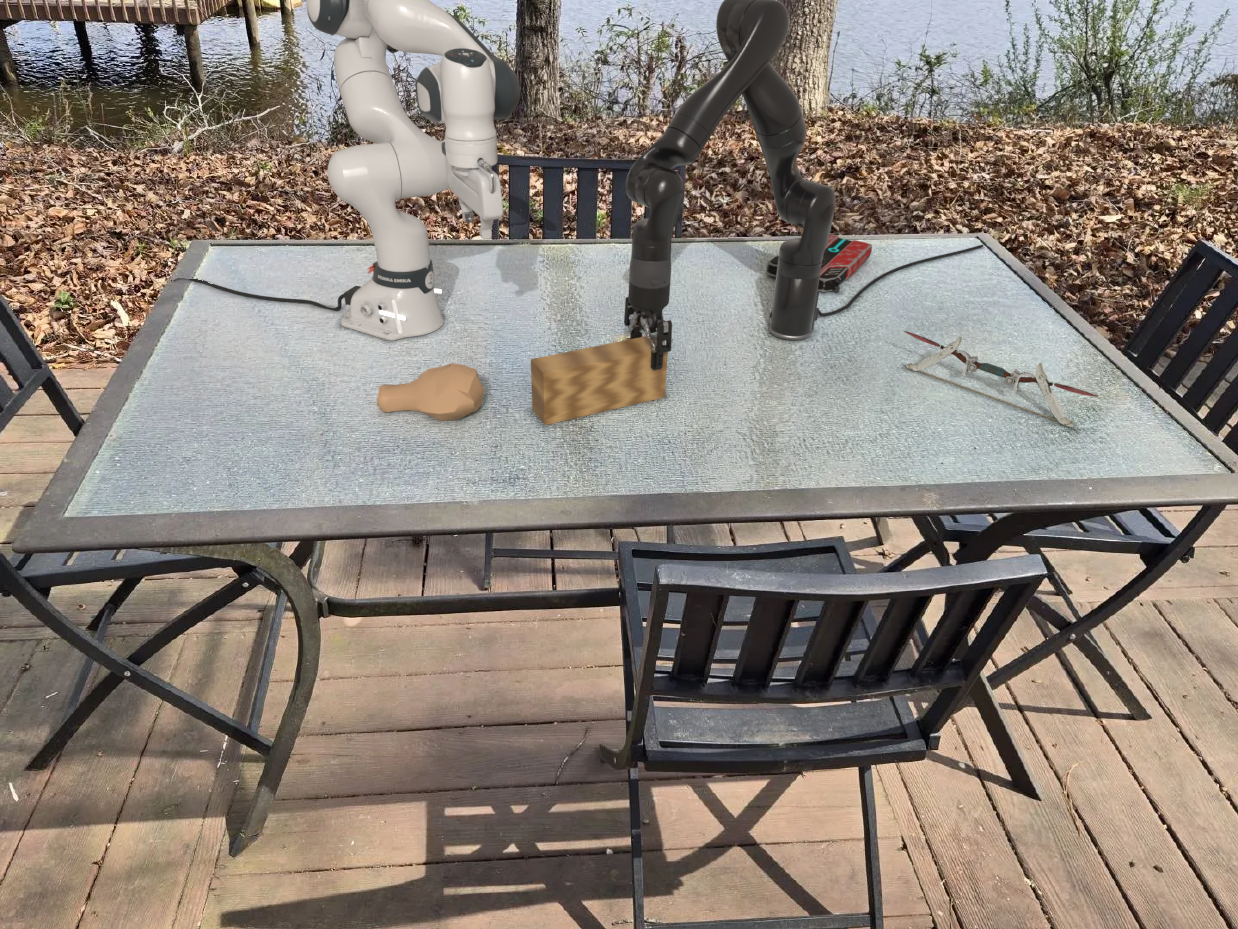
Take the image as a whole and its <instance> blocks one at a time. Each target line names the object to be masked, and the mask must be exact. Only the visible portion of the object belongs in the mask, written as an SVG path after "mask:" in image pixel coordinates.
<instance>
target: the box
mask: <svg viewBox="0 0 1238 929" xmlns="http://www.w3.org/2000/svg"><path fill="white" fill-rule="evenodd" d="M655 344H656V346H657V340H655ZM651 351H652V349H651V345H650V342H649V341H647V339H646V335H645V336H642V337H640V338H635V339H630V338H629V339H625V340H620V341H615V342H610V343H606V344H605V343H604V344H600V345H595V346H590V347H585V348H580V349H575V350H571V351H565V352H560V353H555V354H549V355H545V356H539V357H535V358H530V378H531V379H530V380H531V408H532V409H531V410H532V411H533V413H534V414H535V415H536V416H537V418H538V419H539V420H540V421H541V423H542V424H543V425H544V426H548V425H552V424H556V423H560V422H565V421H569V420H574V419H578V418H582V417H587V416H590V415H594V414H599V413H603V412H608V411H613V410H616V409H617V410H618V409H621V408H624V407H625V408H626V407H630V406H635V405H637V404H642V403H648V402H650V401H655V400H656V401H657V400H660V399H663V398H666V390H667V389H666V388H667V374H668V372H667V370H668V356H669V352H664V354H663V367H662V368H661V369H658V370H653V369H652V368H651Z"/></svg>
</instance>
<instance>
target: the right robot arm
mask: <svg viewBox="0 0 1238 929" xmlns="http://www.w3.org/2000/svg"><path fill="white" fill-rule="evenodd" d="M789 26H790V16H789V12H788V9H787V7H786V6H785V4H784V3H783V2H781V1H779V0H723V1H722V2H721V3H720V6H719V8H718V10H717V14H716V22H715V29H716V35H717V40H718V43H719V46H720V48H721V50H722V53H723V55H724V56H725V58H726V60H727V64H726V66H725V67H724V68H722V69H721V70H720V71H719V72H718V73H717V74H716V75H715V76H713V77H711V79H709V80H708V81H707V82H705V83H704V84H702V85H701V86H700V87H699V88H697V89H696V90H695V91H694V92H692V93H691V94H690V95H689V96H688V97H687V98H686V100H684V102H683V103H681V105H680V106H679V108H678V109H677V110H676V112H675V114H674V116H673V117H672V119H671V120H670V122H669V124H668V125H667V127H666V128H665V130H664V132H663V134H662V135H661V136H660V137H659V138H658V139H657V140H656V141H654V142H653V143H652V144H651V146H650V147H648V149H646V150H645V151H644V152H643V153H642V155H640V156H639V157H638V158H637V160H636V161H634V162H633V164H632V166H631V167H630V169H629V170H628V173H627V175H626V178H625V184H624V186H625V193H626V196H627V197H628V198H629V200H631V201H632V202H633V203H636V204H638V205H640V206H643V207H646V208H648V209H649V217H647V218H642V219H639V220H637V221H636V222H635V223H634V224H633V226H632V231H631V232H632V234H631V253H630V254H631V257H630V261H629V269H628V271H629V273H628V294H627V295H628V296H627V297H625V299H624V300H625V301H624V314H623V315H624V317H623V324H624V326H625V327H628V328H627V330H628V333H629V340H630V339H635V338H640V337H643V333H644V335H645V336H646V339H647V341H649V342H650V345H651V349H652V351H651V368H652V369H653V370H658V369H661V368H662V367H663V354H664V352H668V353H670V352H671V351H672V341H673V340H672V339H673V336H672V335H673V334H672V333H673V322H672V319H669V320H665V319H664V315H663V311H664V309H665V308H666V307H668V305H669V304H670V296H671V295H670V294H671V281H672V280H671V279H672V244H673V243H672V241H673V232H674V229H675V227H676V224H677V222H678V221H677V220H678V218H679V214H680V212H681V209H682V206H683V203H684V198H685V186H684V181H683V179H682V177H681V176H680V174H679V173H678V172H676V171H675V170H673V169H675V168H676V167H678V166H689V165H692V164H693V163H694V162H695V161H696V160H697V158H699V156H700V154H701V152H702V151H703V149H704V147H705V146H706V145H707V143H708V141H709V140H710V138H711V137H712V135H713V134H714V132H715V130H716V128H717V127H718V126H719V125H720V123H721V121H722V119H723V118H724V117H725V116H726V114H727V113H728V111H730V109H731V108H732V107H733V106H734V104H735V103H736V102H737V101H738V100H739V99H740V97H741V96H742V98H743V100H744V103H745V105H746V109H747V111H748V114H749V117H750V120H751V124H752V128H753V131H754V133H755V136H756V139H757V142H758V144H759V147H760V149H761V153H762V155H763V159H764V162H765V165H766V169H767V172H768V175H769V179H770V183H771V189H772V193H773V199H774V202H775V208H776V211H777V214H778V215H779V217H780V219H781V220H782V221H784V222H785V223H787V224H789V225H792V226H795V227H799V228H802V232H801V236H800V237H798V238H797V237H796V238H790V239H787V240H785V241H783V242H782V243H781V244H780V247H779V253H778V255H779V259H778V266H777V274H776V277H775V282H774V291H773V298H772V305H771V311H770V313H769V320H770V321H769V326H768V332H769V333H770V334H771V335H772V336H774V337H776V338H778V339H781V340H786V341H802V340H806V339H808V338H810V337H811V335H812V332H813V331H814V328H815V322H816V321H818V317H819V316H820V317H828V316H832V315H836V314H838V313H840V312H842V311H845V310H847V309H848V308H850V307H851V306H852V304H853V303H854V302H855V300H856V299H857V298H859V297H860V296H861V294H863V293H864V292H865V291H866V290H867V289H869V287H871V286H872V285H873V284H875V283H877V282H878V281H879V280H881V279H883V278H885V277H886V276H888V275H891V274H893V273H896V272H897V271H901V270H903V269H906V268H909V267H912V266H915V265H918V264H922V263H926V262H930V261H934V260H938V259H942V258H946V257H950V256H955V255H960V254H964V253H966V252H972V251H974V250H975V251H976V250H978V249H981V248H984V244H979V245H975V246H972V247H969V248H965V249H961V250H957V251H953V252H949V253H944V254H939V255H935V256H932V257H927V258H923V259H919V260H916V261H912V262H909V263H906V264H904V265H903V264H902V265H900V266H897V267H895V268H893V269H891V270H889V271H886V272H885V273H883V274H882V273H881V275H879V276H877V277H876V278H874V279H873V280H871V281H870V282H868V283H867V284H866V285H864V287H863V288H861V289H860V290H859V291H858V292H857V293H856V294H855V295H853V297H852V298H851V299H850V301H849V302H848V303H847V304H845V305H844V306H842V307H840V308H837V309H836V310H833V311H828V312H822V311H821V310H820V308H819V307H818V303H819V296H820V291H818V285H819V278H820V272H821V265H822V259H823V254H824V252H825V249H826V247H827V244H828V240H829V235H830V234H831V230H832V226H833V225H832V224H833V221H834V216H835V211H836V204H837V198H836V193H835V190H834V189H833V187H830V186H829V185H826V184H823V183H819V182H815V181H811V180H808V179H805V178H804V177H803V176H802V175H801V172H800V169H799V166H798V162H797V160H798V158H799V155H800V153H801V151H802V150H803V147H804V144H805V142H806V138H807V124H806V121H805V118H804V114H803V110H802V107H801V104H800V102H799V98H798V97H797V96H796V93H795V92H794V91H793V89H792V88H791V87H790V85H789V84H788V83H787V82H786V80H785V79H784V78H783V77H782V76H781V75H780V74H779V72H778V71H777V70H776V69H775V68H774V66H773V65H772V63H771V62H772V60H773V59H774V57H776V55H777V54H778V53H779V51H780V50H781V48H782V47H783V45H784V43H785V41H786V39H787V36H788V33H789ZM631 315H632V317H631V318H630V316H631ZM642 331H643V332H642ZM655 333H656V334H655ZM655 340H657V346H656V344H655Z"/></svg>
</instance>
